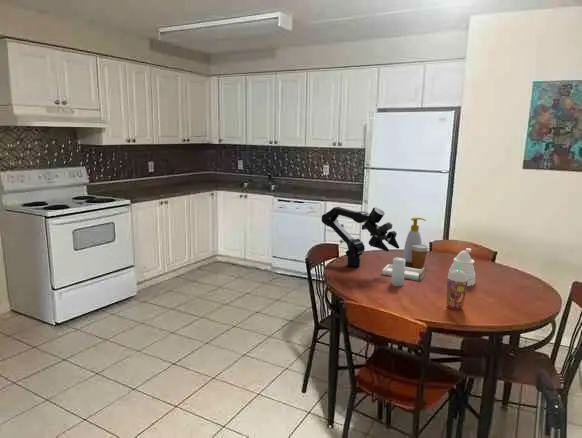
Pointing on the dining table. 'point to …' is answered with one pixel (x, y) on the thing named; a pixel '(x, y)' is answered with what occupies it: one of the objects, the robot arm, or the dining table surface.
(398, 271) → the white rounded wedge
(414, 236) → the soap bottle
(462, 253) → the honey pot
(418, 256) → the disposable coffee cup
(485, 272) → the dining table surface
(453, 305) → the smoothie
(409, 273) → the drawer
